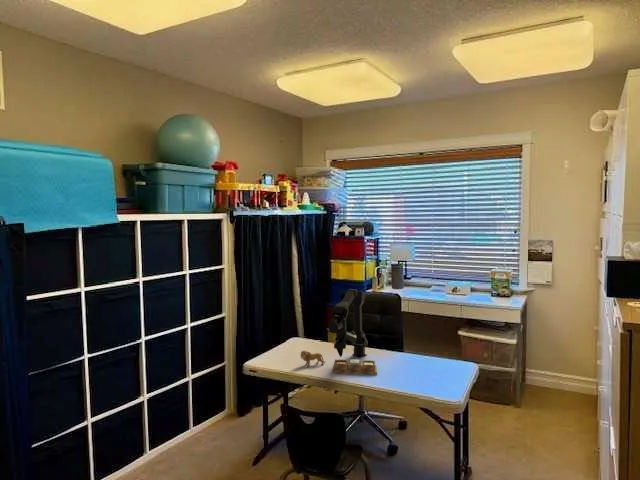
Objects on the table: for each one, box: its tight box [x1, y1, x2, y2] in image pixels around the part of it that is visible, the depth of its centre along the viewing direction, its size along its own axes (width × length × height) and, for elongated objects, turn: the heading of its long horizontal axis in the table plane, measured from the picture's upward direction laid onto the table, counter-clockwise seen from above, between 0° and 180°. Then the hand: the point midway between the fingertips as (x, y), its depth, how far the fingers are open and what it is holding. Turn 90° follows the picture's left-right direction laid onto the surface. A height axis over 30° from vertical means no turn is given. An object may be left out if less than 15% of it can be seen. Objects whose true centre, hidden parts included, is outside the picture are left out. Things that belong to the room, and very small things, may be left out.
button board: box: [331, 359, 378, 376], centre depth 242 cm, size 24×10×5 cm, turn 84°
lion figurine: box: [300, 350, 326, 367], centre depth 251 cm, size 15×5×9 cm, turn 110°
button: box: [349, 359, 360, 364], centre depth 242 cm, size 5×5×2 cm
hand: (340, 356), depth 242 cm, fingers closed
